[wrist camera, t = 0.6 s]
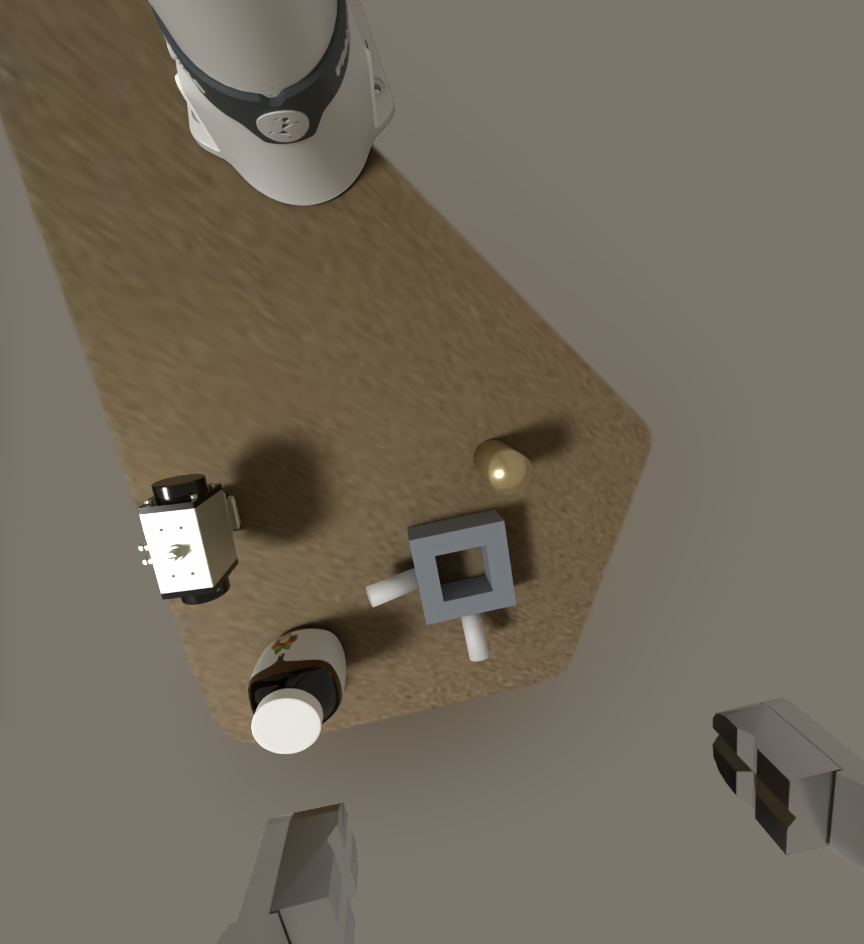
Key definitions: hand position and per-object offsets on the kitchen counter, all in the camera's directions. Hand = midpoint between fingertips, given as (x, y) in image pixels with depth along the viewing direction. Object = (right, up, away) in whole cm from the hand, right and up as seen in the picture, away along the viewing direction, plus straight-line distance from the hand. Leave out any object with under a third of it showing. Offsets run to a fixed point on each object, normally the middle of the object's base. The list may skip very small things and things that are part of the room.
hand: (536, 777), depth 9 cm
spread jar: (-19, -18, +44) cm, 51 cm away
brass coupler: (+5, +8, +40) cm, 41 cm away
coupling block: (-1, -8, +43) cm, 44 cm away
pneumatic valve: (-26, +2, +38) cm, 47 cm away
